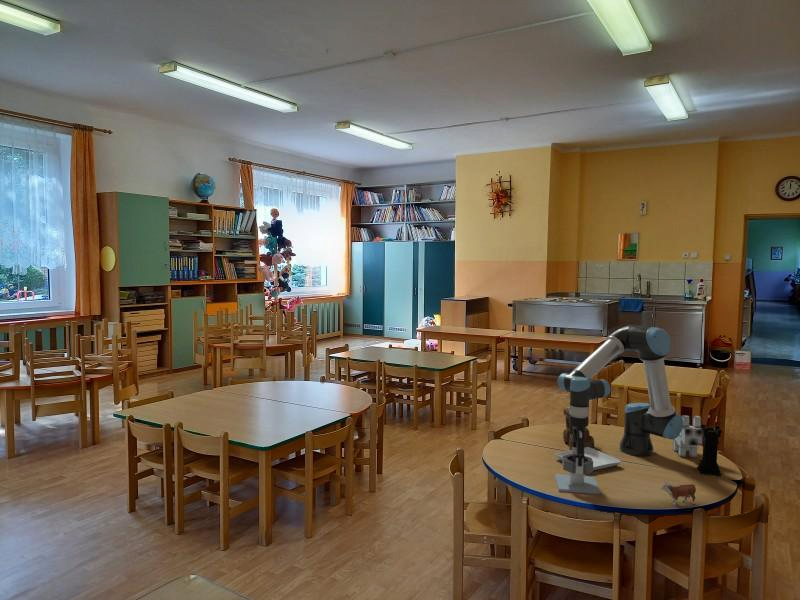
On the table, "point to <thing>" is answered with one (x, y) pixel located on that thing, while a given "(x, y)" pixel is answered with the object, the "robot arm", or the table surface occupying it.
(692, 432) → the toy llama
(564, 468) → the ring
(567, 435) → the wooden toy train
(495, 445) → the table surface
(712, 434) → the chess piece
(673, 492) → the bull figurine
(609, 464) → the salad plate
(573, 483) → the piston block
